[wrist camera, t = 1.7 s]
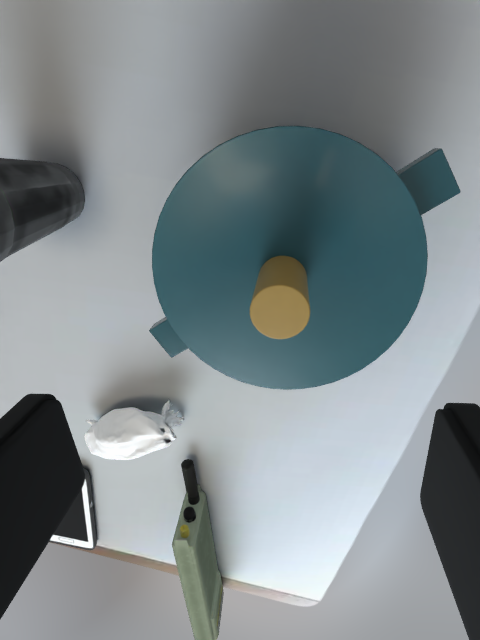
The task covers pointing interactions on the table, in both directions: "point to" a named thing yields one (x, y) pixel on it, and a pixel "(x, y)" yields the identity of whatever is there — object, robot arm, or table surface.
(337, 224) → the lid
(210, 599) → the handheld radio
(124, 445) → the white tied bag
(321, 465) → the table surface
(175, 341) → the teal cooking pot
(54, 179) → the beverage cup
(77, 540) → the cell phone
